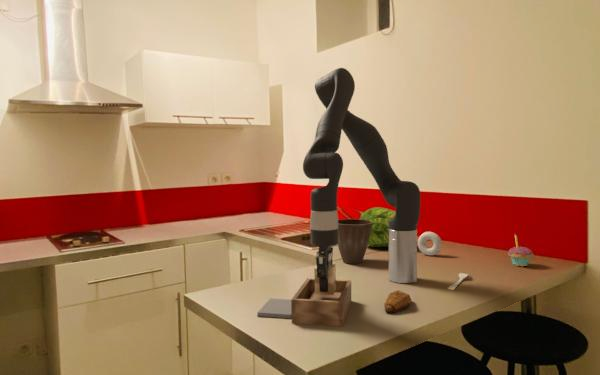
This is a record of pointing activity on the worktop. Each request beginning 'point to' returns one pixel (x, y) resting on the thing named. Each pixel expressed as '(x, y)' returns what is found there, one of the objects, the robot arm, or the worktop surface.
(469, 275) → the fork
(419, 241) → the donut
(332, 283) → the maple block
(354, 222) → the plant pot
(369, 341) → the worktop surface
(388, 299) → the croissant
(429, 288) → the worktop surface
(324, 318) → the walnut crate
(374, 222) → the lettuce
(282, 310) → the plate
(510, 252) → the cupcake
